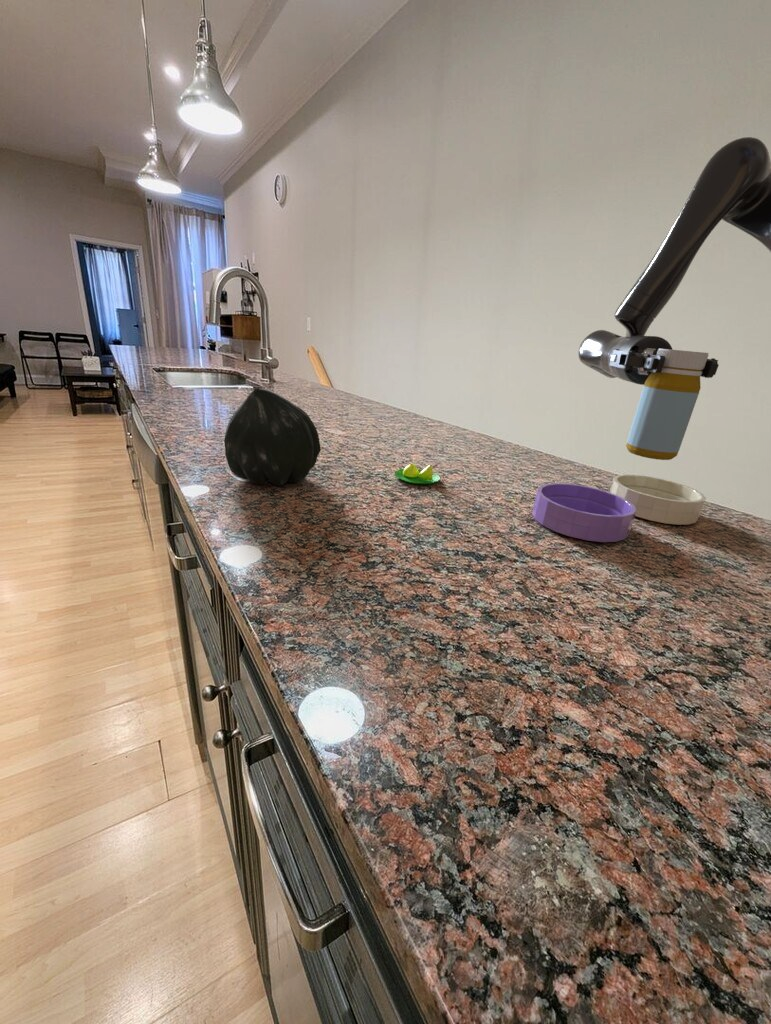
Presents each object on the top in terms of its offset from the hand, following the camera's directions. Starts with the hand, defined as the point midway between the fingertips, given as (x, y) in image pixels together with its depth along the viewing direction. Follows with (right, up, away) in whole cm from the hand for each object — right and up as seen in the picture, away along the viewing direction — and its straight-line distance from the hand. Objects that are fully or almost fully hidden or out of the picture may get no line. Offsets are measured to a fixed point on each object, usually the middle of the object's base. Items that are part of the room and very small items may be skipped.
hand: (686, 367), depth 61 cm
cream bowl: (+3, -20, +13) cm, 24 cm away
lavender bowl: (-13, -22, +4) cm, 26 cm away
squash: (-59, -15, +11) cm, 62 cm away
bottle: (-1, -11, +7) cm, 13 cm away
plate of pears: (-36, -14, +17) cm, 42 cm away
